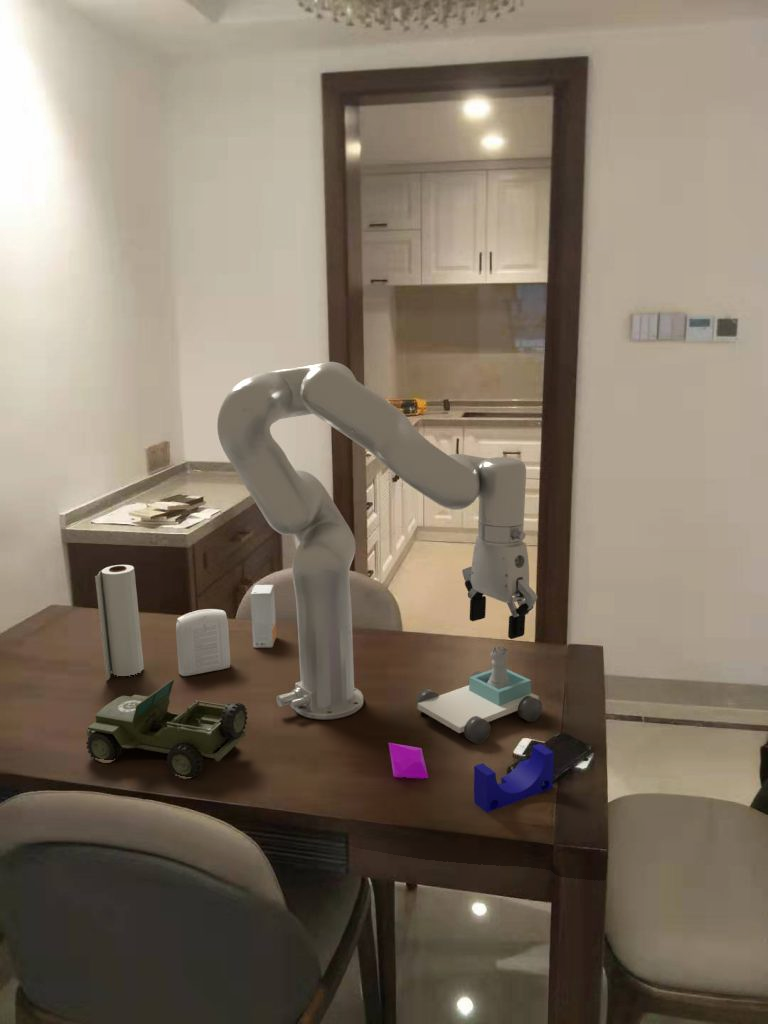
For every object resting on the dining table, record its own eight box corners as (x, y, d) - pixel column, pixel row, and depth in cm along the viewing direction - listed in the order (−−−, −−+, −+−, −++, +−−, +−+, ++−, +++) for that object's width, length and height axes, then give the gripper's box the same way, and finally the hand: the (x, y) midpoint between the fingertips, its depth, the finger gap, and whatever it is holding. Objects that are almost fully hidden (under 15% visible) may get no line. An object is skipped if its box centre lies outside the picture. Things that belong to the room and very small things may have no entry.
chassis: (466, 748, 140) (466, 717, 139) (411, 715, 152) (410, 686, 151) (546, 716, 151) (546, 686, 149) (488, 687, 162) (488, 659, 161)
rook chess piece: (511, 698, 151) (512, 655, 149) (485, 696, 152) (485, 653, 150) (512, 687, 155) (513, 645, 153) (487, 685, 156) (487, 643, 154)
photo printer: (227, 660, 177) (223, 602, 174) (233, 668, 173) (229, 609, 170) (176, 671, 173) (171, 612, 170) (182, 679, 169) (176, 618, 166)
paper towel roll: (142, 663, 177) (133, 562, 171) (144, 675, 171) (134, 570, 166) (105, 668, 174) (94, 566, 169) (106, 681, 169) (94, 575, 164)
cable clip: (532, 775, 133) (533, 739, 131) (552, 789, 129) (553, 752, 128) (468, 798, 127) (468, 761, 126) (486, 813, 123) (486, 775, 122)
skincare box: (273, 647, 183) (270, 593, 180) (252, 648, 183) (249, 593, 180) (277, 636, 189) (274, 584, 186) (257, 637, 189) (254, 584, 186)
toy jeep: (127, 726, 151) (121, 667, 148) (256, 749, 142) (252, 687, 140) (81, 761, 140) (73, 698, 137) (217, 788, 131) (212, 721, 129)
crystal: (396, 785, 131) (395, 757, 130) (387, 767, 136) (386, 740, 135) (429, 780, 132) (429, 752, 131) (419, 762, 137) (418, 735, 136)
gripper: (554, 540, 142) (548, 639, 146) (482, 518, 155) (478, 609, 160) (520, 547, 138) (515, 649, 142) (449, 524, 151) (447, 617, 155)
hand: (496, 627), depth 151 cm, fingers open, 9 cm apart
